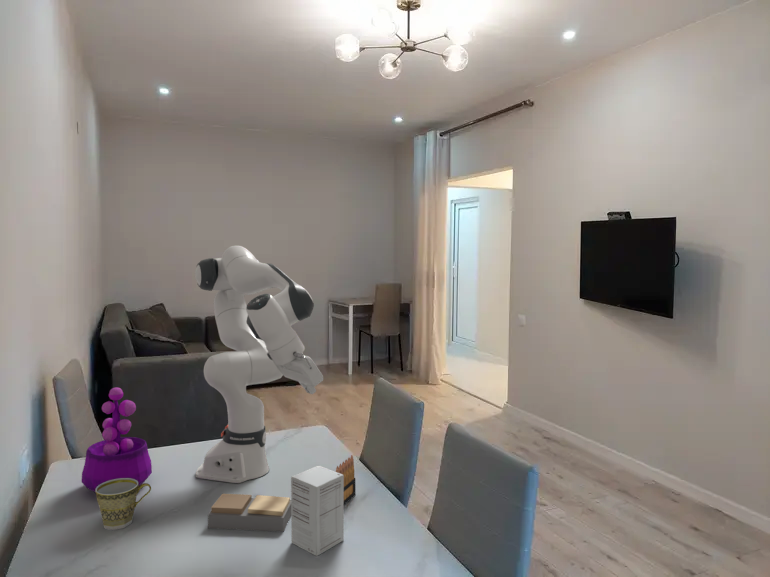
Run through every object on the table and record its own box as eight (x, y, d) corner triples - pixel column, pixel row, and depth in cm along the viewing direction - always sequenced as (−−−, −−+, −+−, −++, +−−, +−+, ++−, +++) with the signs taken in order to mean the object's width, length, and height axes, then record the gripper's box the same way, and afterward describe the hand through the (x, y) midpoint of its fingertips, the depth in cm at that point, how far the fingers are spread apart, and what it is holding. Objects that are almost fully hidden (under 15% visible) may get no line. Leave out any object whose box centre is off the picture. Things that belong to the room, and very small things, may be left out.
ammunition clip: (338, 510, 151) (339, 467, 150) (332, 509, 152) (333, 466, 151) (355, 494, 161) (356, 454, 160) (350, 493, 161) (350, 453, 161)
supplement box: (318, 528, 141) (318, 464, 140) (344, 540, 135) (345, 473, 134) (289, 543, 134) (289, 475, 132) (316, 557, 128) (316, 486, 127)
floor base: (208, 528, 140) (207, 509, 140) (222, 509, 150) (221, 491, 150) (283, 531, 139) (283, 512, 139) (292, 512, 149) (292, 494, 149)
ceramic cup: (96, 537, 135) (95, 497, 135) (96, 519, 144) (95, 482, 143) (153, 525, 141) (152, 487, 140) (150, 509, 150) (149, 473, 149)
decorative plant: (146, 469, 176) (144, 377, 174) (158, 491, 161) (156, 390, 159) (79, 482, 166) (76, 384, 164) (84, 507, 150) (82, 399, 148)
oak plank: (247, 513, 140) (247, 509, 140) (257, 499, 148) (257, 495, 148) (282, 515, 140) (282, 511, 140) (290, 501, 148) (290, 497, 148)
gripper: (313, 347, 140) (338, 391, 144) (282, 341, 157) (305, 380, 161) (293, 362, 137) (320, 406, 141) (264, 353, 154) (288, 393, 158)
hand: (312, 392), depth 151 cm, fingers closed
